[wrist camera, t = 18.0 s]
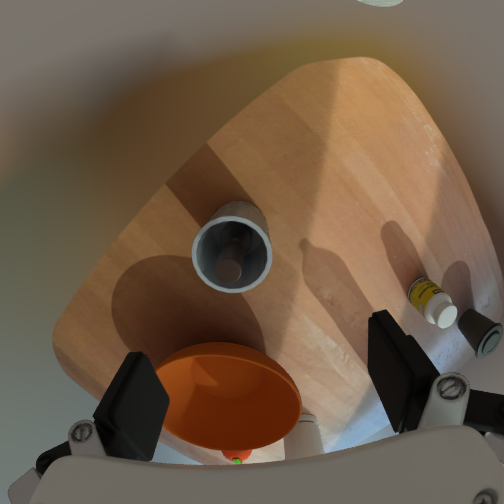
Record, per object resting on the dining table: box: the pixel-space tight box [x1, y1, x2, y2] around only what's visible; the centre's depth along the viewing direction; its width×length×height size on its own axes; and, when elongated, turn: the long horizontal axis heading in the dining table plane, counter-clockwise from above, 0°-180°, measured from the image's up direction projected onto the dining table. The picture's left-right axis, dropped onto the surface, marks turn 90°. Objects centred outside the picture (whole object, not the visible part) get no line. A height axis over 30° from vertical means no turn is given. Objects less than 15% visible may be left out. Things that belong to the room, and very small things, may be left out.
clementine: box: [222, 450, 252, 463], centre depth 51 cm, size 8×7×7 cm
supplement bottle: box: [408, 278, 457, 328], centre depth 38 cm, size 5×5×10 cm
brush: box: [215, 221, 253, 283], centre depth 32 cm, size 4×4×15 cm
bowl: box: [154, 342, 302, 451], centre depth 43 cm, size 25×25×10 cm
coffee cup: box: [458, 309, 503, 359], centre depth 40 cm, size 8×8×10 cm
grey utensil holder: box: [191, 201, 272, 293], centre depth 34 cm, size 8×8×12 cm
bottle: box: [283, 414, 325, 460], centre depth 40 cm, size 8×8×28 cm
